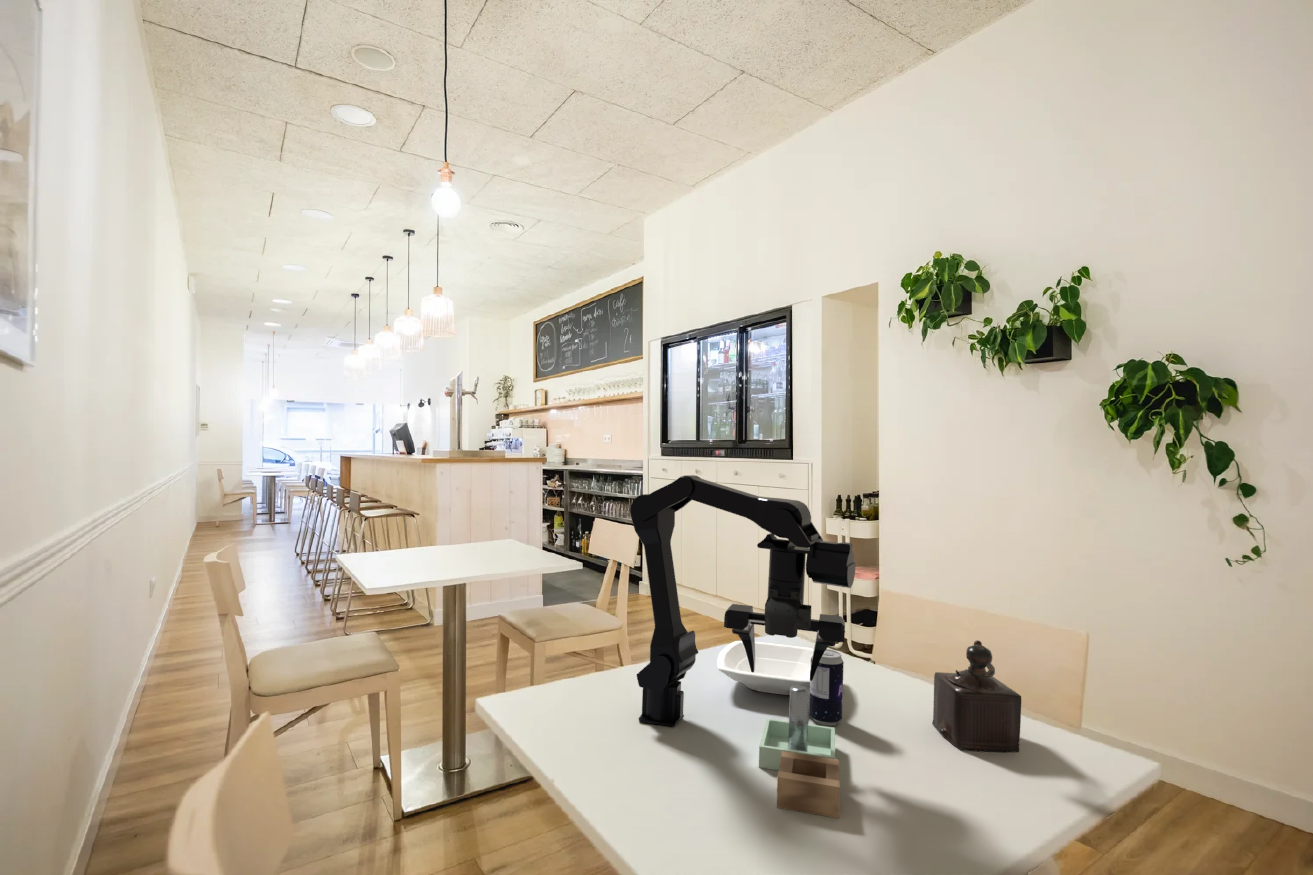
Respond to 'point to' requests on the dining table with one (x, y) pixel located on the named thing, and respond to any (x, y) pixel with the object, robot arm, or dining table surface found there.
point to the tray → (777, 741)
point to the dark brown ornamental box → (977, 706)
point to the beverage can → (827, 689)
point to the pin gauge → (798, 718)
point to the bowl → (767, 666)
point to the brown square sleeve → (808, 784)
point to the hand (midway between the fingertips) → (781, 675)
